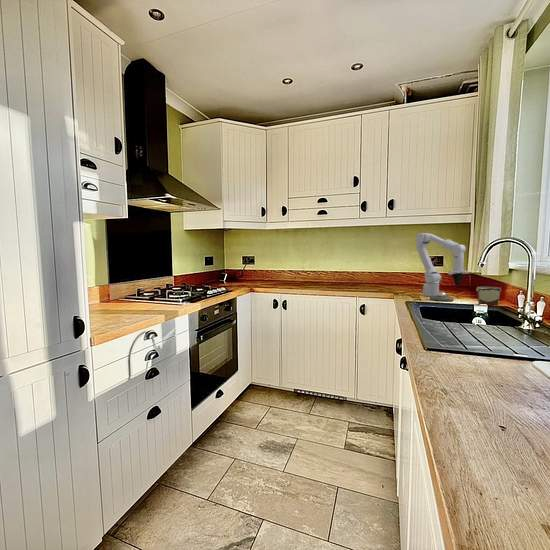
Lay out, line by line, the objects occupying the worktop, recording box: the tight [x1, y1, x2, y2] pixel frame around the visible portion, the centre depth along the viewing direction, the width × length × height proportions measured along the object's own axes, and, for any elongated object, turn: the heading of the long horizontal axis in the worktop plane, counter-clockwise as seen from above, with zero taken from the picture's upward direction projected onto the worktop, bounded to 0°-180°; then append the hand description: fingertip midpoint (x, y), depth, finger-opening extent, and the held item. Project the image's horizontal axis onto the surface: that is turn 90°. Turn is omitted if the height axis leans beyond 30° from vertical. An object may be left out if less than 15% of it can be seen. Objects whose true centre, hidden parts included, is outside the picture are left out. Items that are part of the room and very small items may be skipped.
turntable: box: [429, 295, 455, 302], centre depth 188 cm, size 13×13×2 cm
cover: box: [437, 290, 447, 297], centre depth 188 cm, size 5×5×3 cm
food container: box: [475, 286, 502, 306], centre depth 169 cm, size 12×6×10 cm, turn 84°
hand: (457, 285), depth 189 cm, fingers closed
